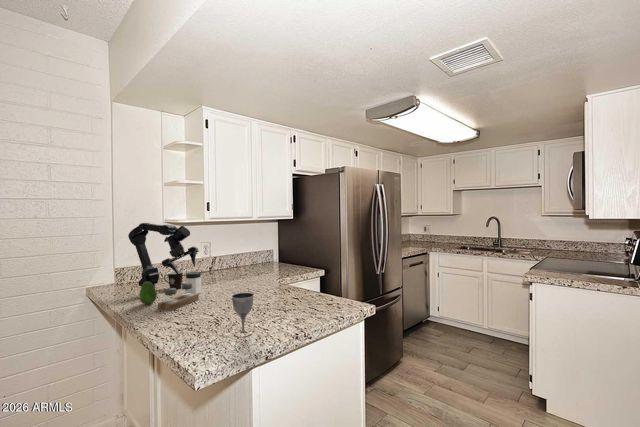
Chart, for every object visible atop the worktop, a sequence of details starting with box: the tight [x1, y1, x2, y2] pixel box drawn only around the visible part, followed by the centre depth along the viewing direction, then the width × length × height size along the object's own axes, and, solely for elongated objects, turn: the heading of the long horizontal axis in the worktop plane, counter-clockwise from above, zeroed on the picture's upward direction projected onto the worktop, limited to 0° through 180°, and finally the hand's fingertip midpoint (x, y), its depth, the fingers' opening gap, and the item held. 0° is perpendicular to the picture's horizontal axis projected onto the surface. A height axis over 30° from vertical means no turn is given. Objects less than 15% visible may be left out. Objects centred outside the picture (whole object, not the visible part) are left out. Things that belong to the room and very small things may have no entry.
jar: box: [184, 271, 202, 295], centre depth 181 cm, size 9×8×12 cm
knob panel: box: [157, 293, 199, 312], centre depth 159 cm, size 8×20×3 cm, turn 164°
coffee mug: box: [163, 271, 184, 291], centre depth 194 cm, size 12×9×10 cm
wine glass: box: [231, 292, 254, 333], centre depth 118 cm, size 8×8×15 cm
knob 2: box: [181, 282, 192, 290], centre depth 165 cm, size 5×5×3 cm
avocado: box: [139, 281, 158, 306], centre depth 159 cm, size 8×8×12 cm
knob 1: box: [164, 287, 177, 297], centre depth 153 cm, size 5×5×3 cm
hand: (186, 270), depth 166 cm, fingers open, 9 cm apart
